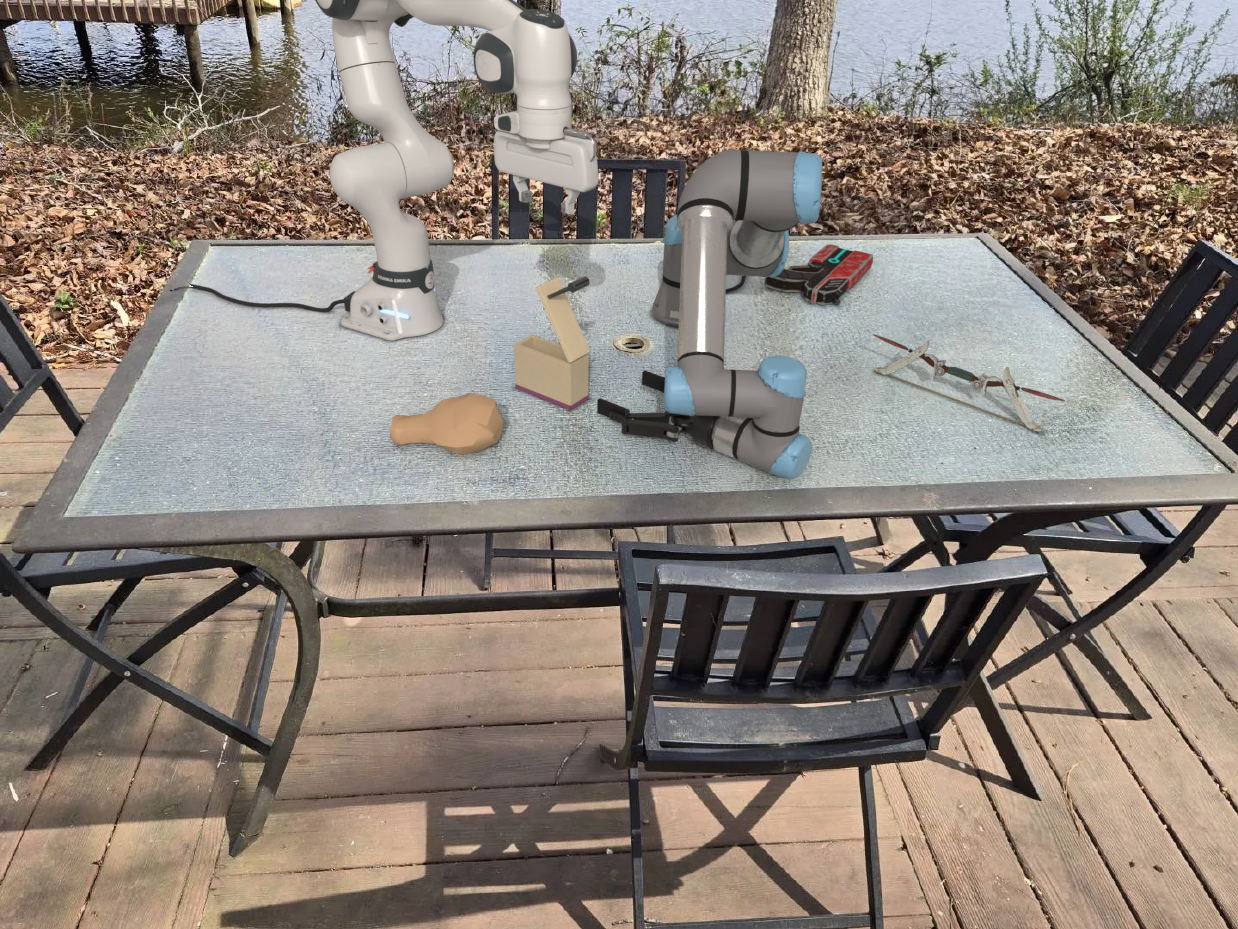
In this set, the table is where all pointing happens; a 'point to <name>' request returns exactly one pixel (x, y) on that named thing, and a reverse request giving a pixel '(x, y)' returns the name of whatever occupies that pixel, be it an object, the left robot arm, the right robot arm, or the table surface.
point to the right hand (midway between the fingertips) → (621, 390)
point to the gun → (824, 275)
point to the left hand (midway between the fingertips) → (546, 207)
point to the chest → (550, 372)
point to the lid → (564, 315)
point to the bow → (978, 382)
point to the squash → (452, 425)
